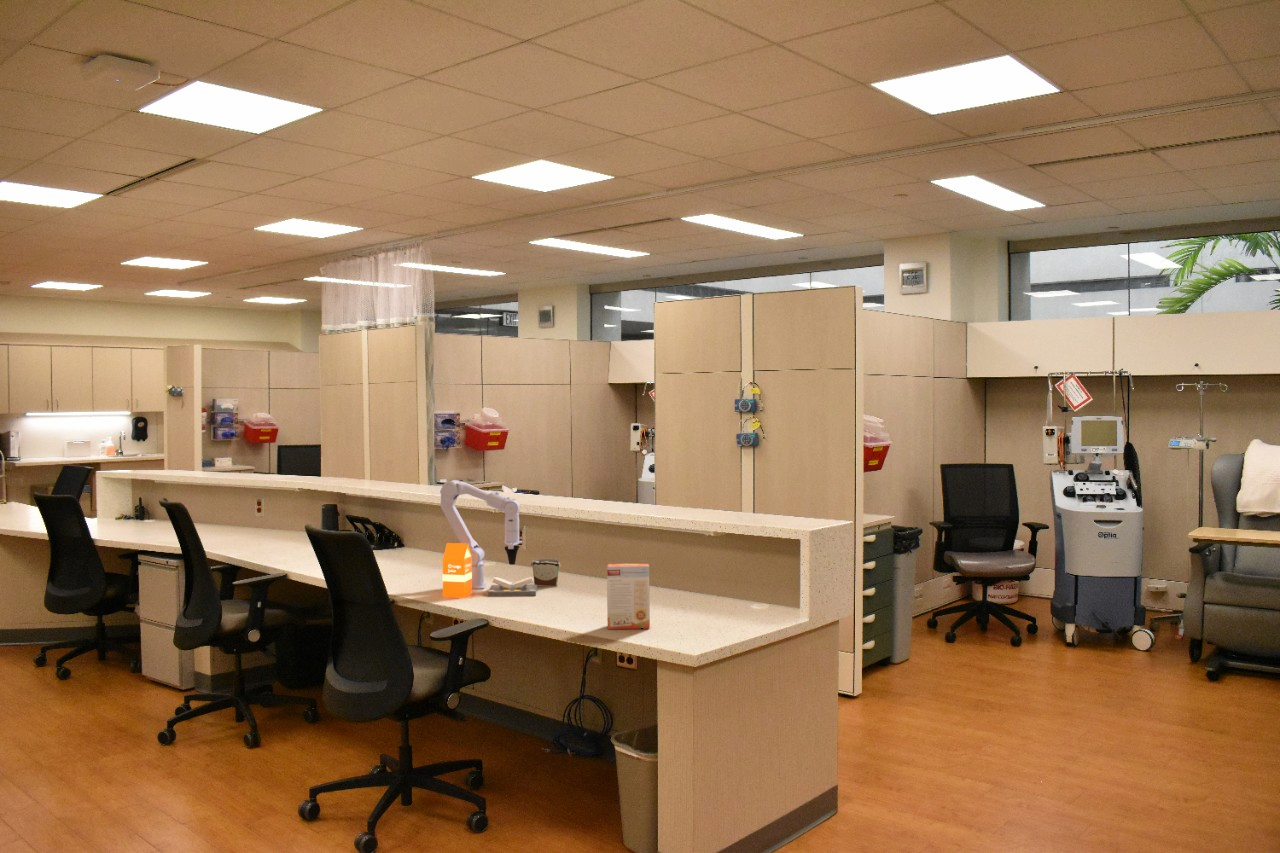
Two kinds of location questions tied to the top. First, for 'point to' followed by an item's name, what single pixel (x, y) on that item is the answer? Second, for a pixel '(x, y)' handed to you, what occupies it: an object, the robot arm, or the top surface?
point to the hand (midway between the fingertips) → (512, 564)
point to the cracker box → (628, 596)
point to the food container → (545, 572)
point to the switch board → (512, 590)
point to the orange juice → (457, 570)
